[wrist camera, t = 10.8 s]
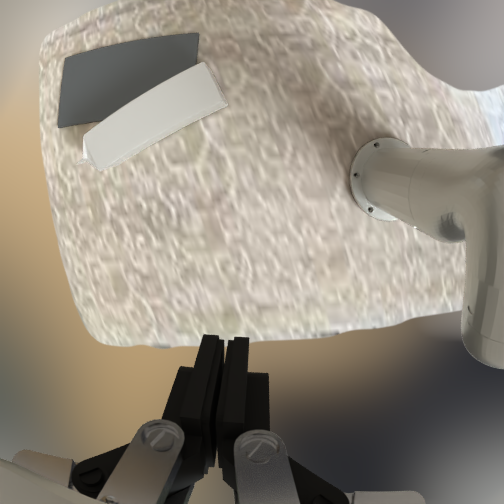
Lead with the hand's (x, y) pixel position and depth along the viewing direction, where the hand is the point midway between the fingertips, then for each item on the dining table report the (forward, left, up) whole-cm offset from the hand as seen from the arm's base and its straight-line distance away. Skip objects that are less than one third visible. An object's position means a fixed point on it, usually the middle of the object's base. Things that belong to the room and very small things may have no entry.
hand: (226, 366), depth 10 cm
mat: (+21, -20, -33) cm, 44 cm away
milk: (+5, -17, -29) cm, 34 cm away
